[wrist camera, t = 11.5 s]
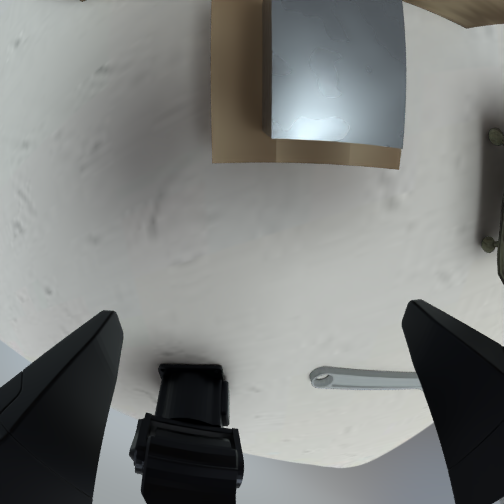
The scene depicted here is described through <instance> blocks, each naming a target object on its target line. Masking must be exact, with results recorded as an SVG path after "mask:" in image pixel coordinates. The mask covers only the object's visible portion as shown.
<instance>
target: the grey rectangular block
mask: <svg viewBox="0 0 504 504" xmlns="http://www.w3.org/2000/svg"><path fill="white" fill-rule="evenodd" d="M405 103H406V46H405V28H404V16H403V5H402V0H263V3H262V131H263V132H264V133H265V134H266V135H268V136H269V137H270V138H271V139H301V140H320V141H335V142H347V143H358V144H367V145H376V146H384V147H392V148H399V149H402V148H403V137H404V123H405Z"/></svg>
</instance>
